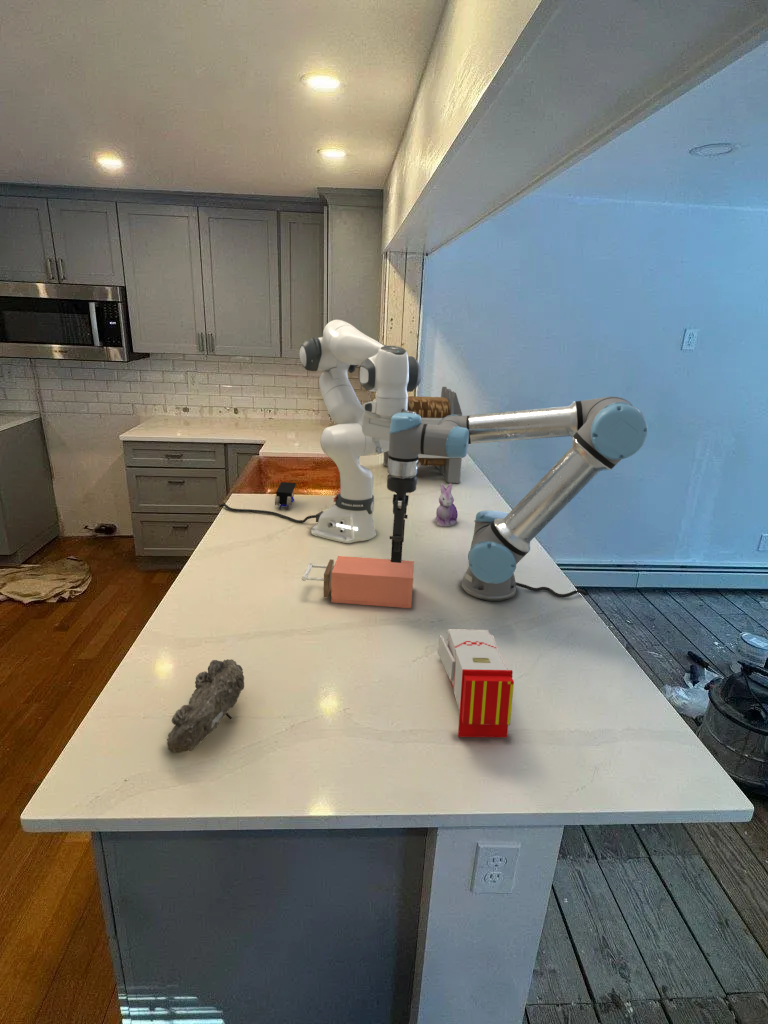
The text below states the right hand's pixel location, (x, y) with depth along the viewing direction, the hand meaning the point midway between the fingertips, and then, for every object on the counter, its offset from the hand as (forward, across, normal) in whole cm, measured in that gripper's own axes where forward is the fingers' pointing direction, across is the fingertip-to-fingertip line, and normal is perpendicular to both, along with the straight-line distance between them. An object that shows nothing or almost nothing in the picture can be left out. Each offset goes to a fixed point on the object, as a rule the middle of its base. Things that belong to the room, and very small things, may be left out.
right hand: (397, 551), depth 151 cm
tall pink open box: (+14, 0, +6) cm, 15 cm away
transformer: (+14, +127, -5) cm, 128 cm away
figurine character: (+14, +69, +47) cm, 84 cm away
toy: (+14, -39, -18) cm, 45 cm away
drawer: (+13, 0, +12) cm, 17 cm away
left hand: (-21, +18, +4) cm, 28 cm away
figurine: (+14, +61, -16) cm, 64 cm away
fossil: (+14, -53, +32) cm, 63 cm away
